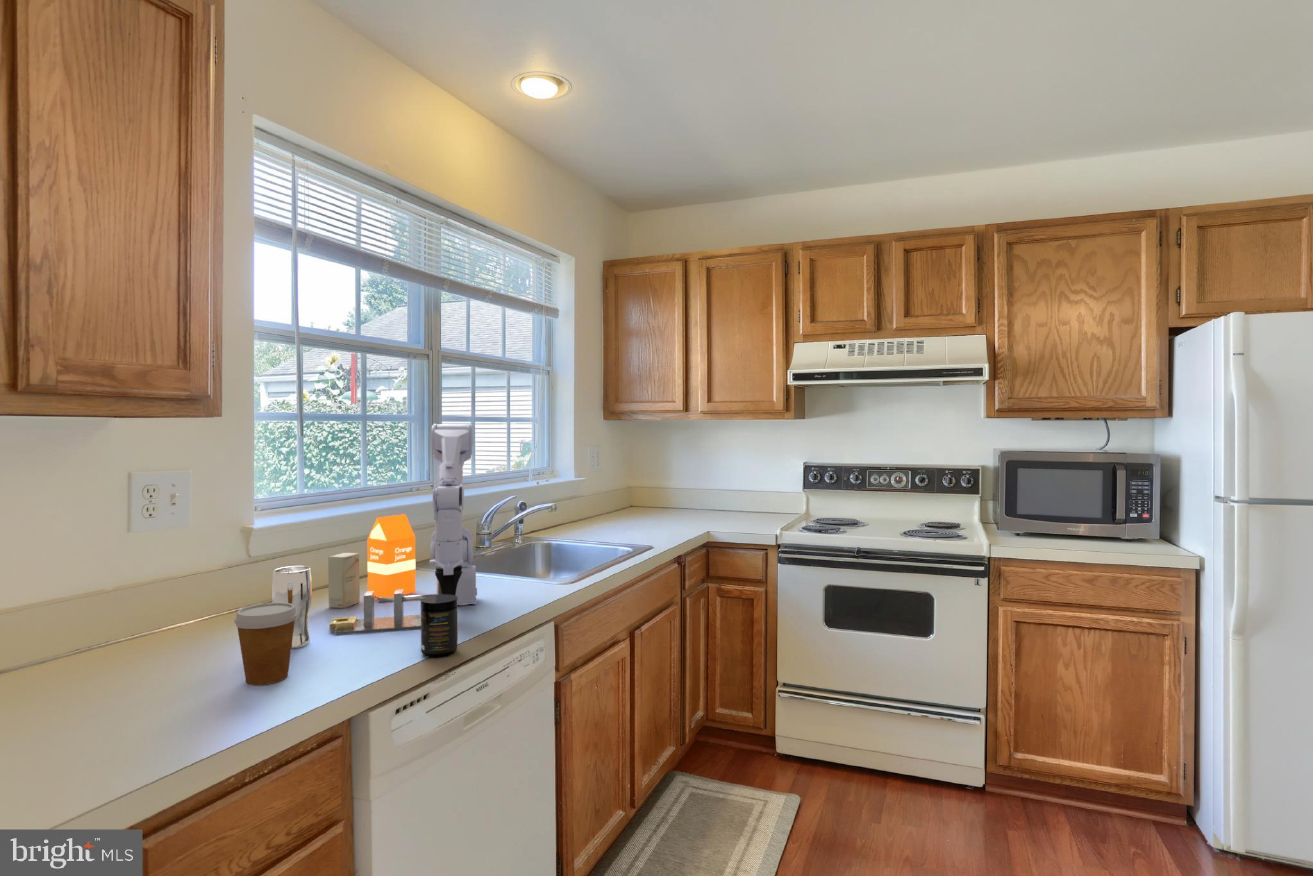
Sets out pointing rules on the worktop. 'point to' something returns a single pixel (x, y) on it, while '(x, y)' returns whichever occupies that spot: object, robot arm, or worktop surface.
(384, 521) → the orange juice
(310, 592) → the beer glass
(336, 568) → the skincare box
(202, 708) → the worktop surface
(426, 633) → the supplement container
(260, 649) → the disposable coffee cup
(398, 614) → the bracket
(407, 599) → the shaft
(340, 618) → the block
